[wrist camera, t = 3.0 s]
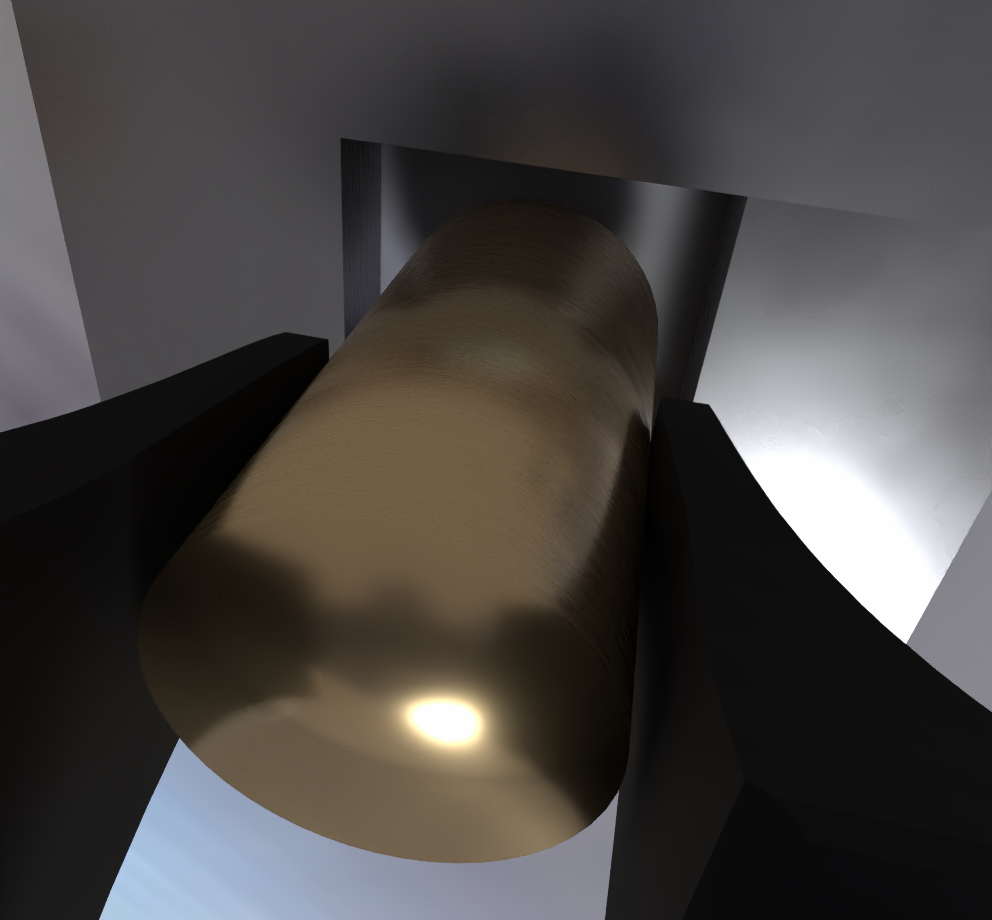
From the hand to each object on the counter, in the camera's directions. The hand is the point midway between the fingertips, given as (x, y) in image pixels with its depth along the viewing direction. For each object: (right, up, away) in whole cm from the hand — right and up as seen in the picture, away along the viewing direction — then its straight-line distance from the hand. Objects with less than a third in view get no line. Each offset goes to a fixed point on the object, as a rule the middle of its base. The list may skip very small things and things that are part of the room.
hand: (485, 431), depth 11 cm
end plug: (+1, +2, +3) cm, 3 cm away
